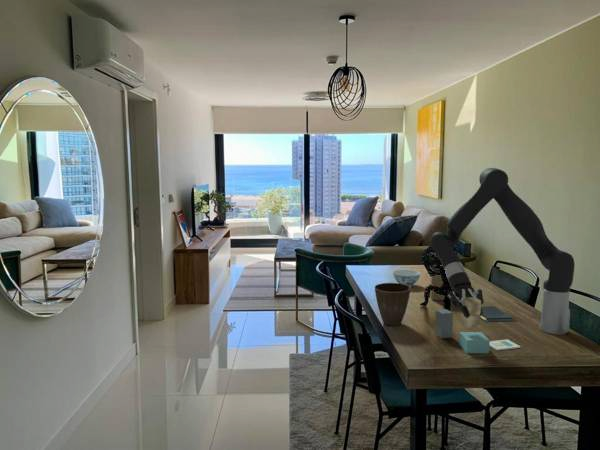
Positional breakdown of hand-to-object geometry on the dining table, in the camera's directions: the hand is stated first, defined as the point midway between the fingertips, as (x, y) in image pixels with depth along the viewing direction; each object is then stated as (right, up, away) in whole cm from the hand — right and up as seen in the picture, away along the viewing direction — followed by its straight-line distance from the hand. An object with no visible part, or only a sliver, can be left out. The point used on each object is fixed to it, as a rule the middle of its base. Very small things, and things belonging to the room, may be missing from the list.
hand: (474, 316), depth 159 cm
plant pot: (-24, -9, +28) cm, 38 cm away
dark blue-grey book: (+23, -8, +39) cm, 46 cm away
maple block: (0, -4, +2) cm, 5 cm away
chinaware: (-3, -1, +89) cm, 89 cm away
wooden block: (+9, -4, +64) cm, 65 cm away
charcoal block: (-7, -11, +14) cm, 19 cm away
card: (+12, -12, +4) cm, 17 cm away
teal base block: (0, -12, +1) cm, 12 cm away
